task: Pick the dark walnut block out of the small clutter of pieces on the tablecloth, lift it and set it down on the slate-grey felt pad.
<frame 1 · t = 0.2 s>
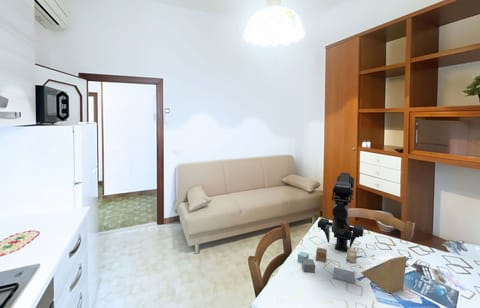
hand: (339, 244, 113), 14 cm above the table, fingers open, 9 cm apart
sandwich container: (380, 281, 110), on the table
charcoal block: (308, 269, 118), on the table
felt pad: (343, 275, 114), on the table
walnut block: (321, 259, 127), on the table
beech cylinder: (351, 260, 126), on the table
teal block: (303, 261, 125), on the table
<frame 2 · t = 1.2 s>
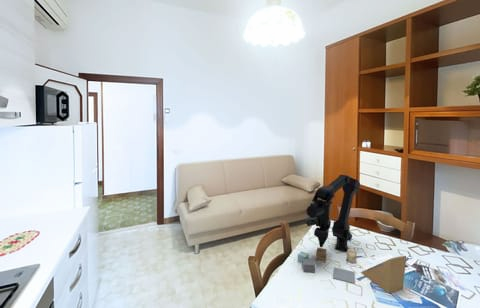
hand: (322, 243, 126), 9 cm above the table, fingers open, 9 cm apart
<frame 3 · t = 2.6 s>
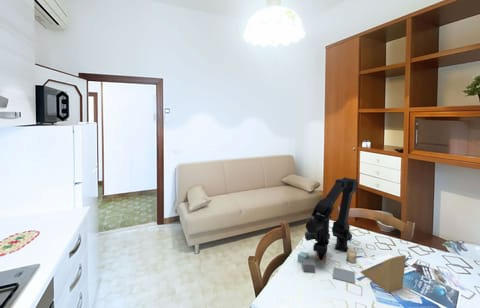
hand: (321, 257, 127), 1 cm above the table, fingers closed on walnut block, 4 cm apart
walnut block: (321, 259, 127), on the table, touching gripper
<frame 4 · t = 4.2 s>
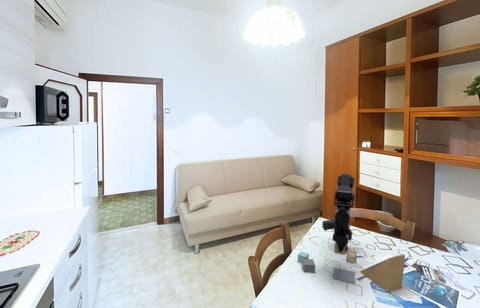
hand: (340, 249, 114), 11 cm above the table, fingers closed on walnut block, 4 cm apart
walnut block: (340, 251, 114), point 10 cm above the table, touching gripper
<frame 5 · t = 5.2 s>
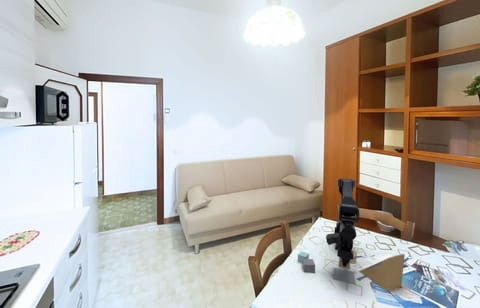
hand: (344, 263, 113), 6 cm above the table, fingers closed on walnut block, 4 cm apart
walnut block: (344, 265, 113), point 5 cm above the table, touching gripper
when the fingers open (3 cm above the table, at t = 6.0 s): walnut block drops 1 cm, resting on felt pad.
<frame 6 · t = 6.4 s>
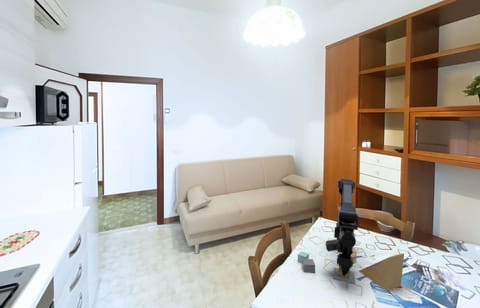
hand: (344, 270, 113), 3 cm above the table, fingers open, 9 cm apart
walnut block: (343, 274, 114), resting on felt pad
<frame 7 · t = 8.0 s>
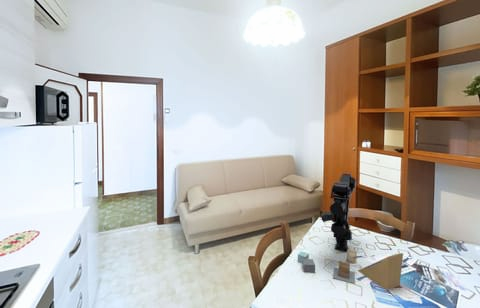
hand: (338, 238, 124), 12 cm above the table, fingers open, 9 cm apart
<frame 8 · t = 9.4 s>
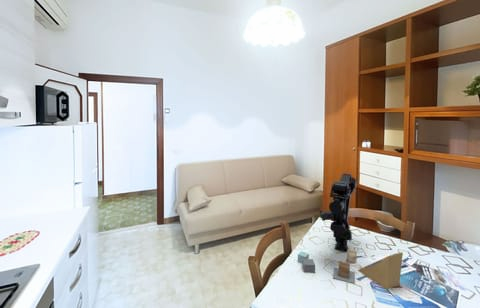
hand: (337, 237, 125), 12 cm above the table, fingers open, 9 cm apart
at the end: walnut block inside the target area on the felt pad (0.1 cm from its centre), point 0.4 cm above the felt pad's base; walnut block tilted 0°; the gripper is holding nothing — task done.
